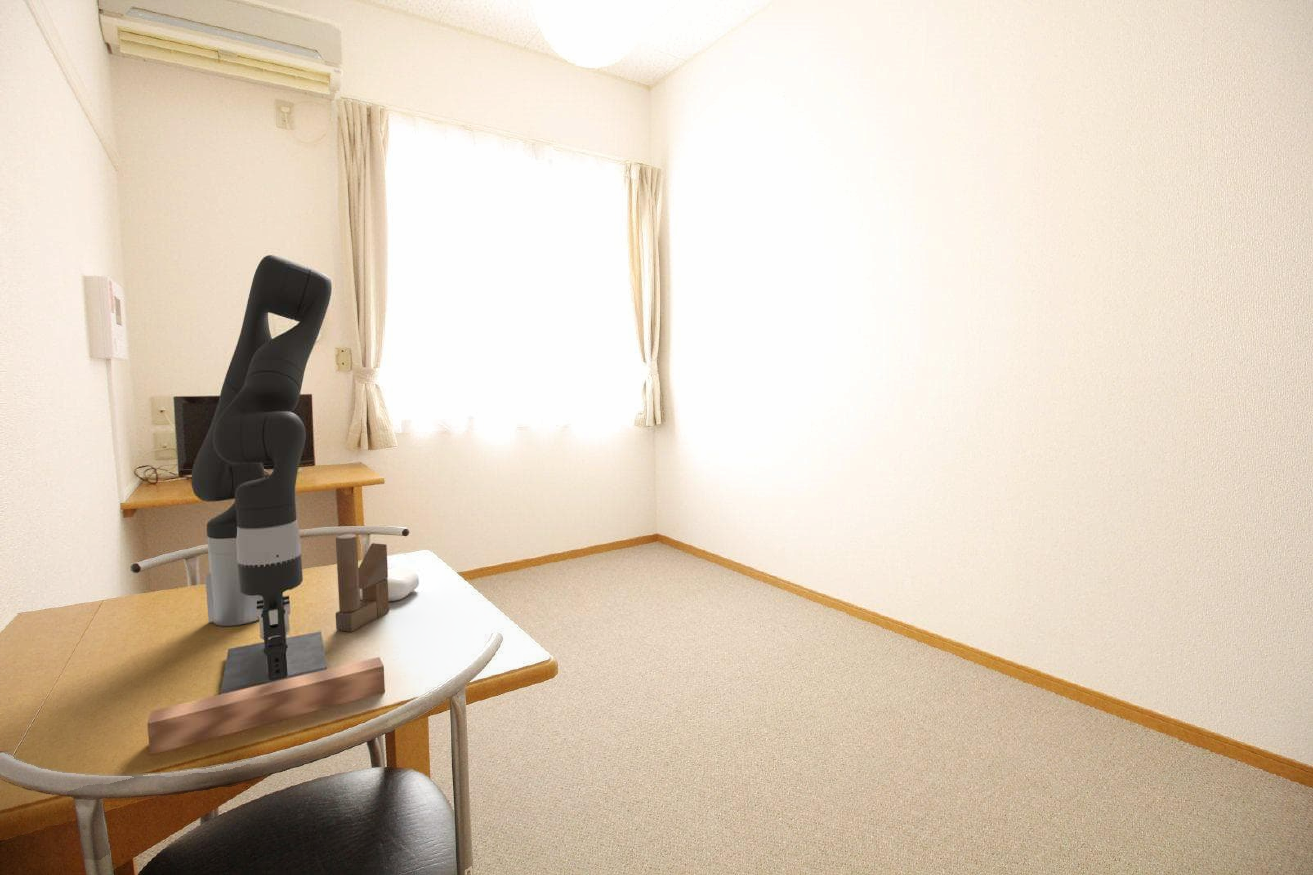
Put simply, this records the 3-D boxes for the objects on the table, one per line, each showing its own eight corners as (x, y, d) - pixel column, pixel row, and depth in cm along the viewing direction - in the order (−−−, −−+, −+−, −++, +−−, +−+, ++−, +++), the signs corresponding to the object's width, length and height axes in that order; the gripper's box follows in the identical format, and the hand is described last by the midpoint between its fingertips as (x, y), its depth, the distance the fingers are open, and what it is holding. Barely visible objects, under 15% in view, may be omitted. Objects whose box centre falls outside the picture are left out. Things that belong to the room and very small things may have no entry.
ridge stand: (327, 675, 99) (324, 618, 98) (221, 699, 92) (217, 638, 91) (321, 639, 113) (318, 588, 112) (228, 657, 106) (224, 603, 105)
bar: (150, 757, 79) (147, 723, 78) (153, 743, 82) (150, 710, 81) (385, 693, 95) (383, 665, 94) (380, 684, 98) (379, 656, 97)
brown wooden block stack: (390, 611, 126) (386, 525, 124) (351, 633, 116) (347, 539, 114) (374, 609, 127) (370, 524, 125) (335, 631, 117) (330, 538, 115)
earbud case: (403, 605, 130) (402, 581, 129) (343, 604, 131) (342, 579, 130) (424, 588, 140) (423, 565, 139) (369, 587, 141) (367, 564, 140)
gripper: (303, 563, 82) (311, 679, 83) (298, 539, 94) (305, 642, 96) (234, 573, 78) (244, 695, 80) (239, 547, 90) (247, 653, 92)
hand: (277, 666), depth 88 cm, fingers open, 8 cm apart
